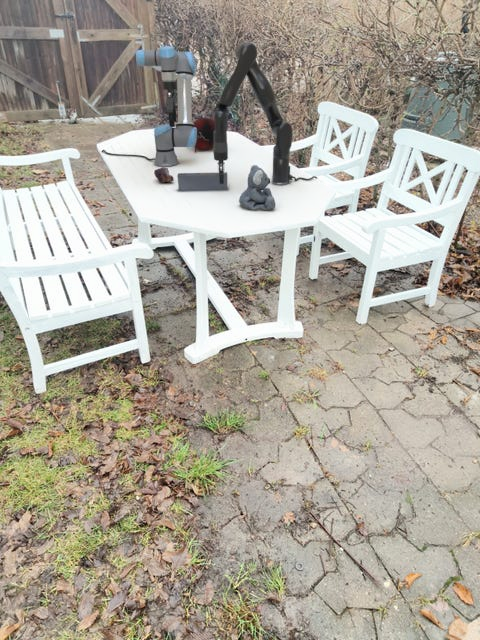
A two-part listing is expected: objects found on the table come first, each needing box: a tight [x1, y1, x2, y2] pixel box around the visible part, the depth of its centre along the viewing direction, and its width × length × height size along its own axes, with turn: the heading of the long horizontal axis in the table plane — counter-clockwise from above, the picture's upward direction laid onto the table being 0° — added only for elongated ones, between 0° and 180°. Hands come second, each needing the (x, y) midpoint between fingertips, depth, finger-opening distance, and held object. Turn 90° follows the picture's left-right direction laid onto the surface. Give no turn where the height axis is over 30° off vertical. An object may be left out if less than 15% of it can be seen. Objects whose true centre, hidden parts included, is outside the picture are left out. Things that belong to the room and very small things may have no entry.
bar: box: [176, 171, 229, 192], centre depth 249 cm, size 27×4×9 cm, turn 92°
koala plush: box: [238, 164, 276, 211], centre depth 224 cm, size 17×18×20 cm
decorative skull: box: [192, 117, 215, 153], centre depth 321 cm, size 21×24×25 cm
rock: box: [153, 167, 175, 184], centre depth 260 cm, size 12×9×10 cm
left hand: (173, 124), depth 248 cm, fingers open, 13 cm apart
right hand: (221, 182), depth 249 cm, fingers closed on bar, 4 cm apart
